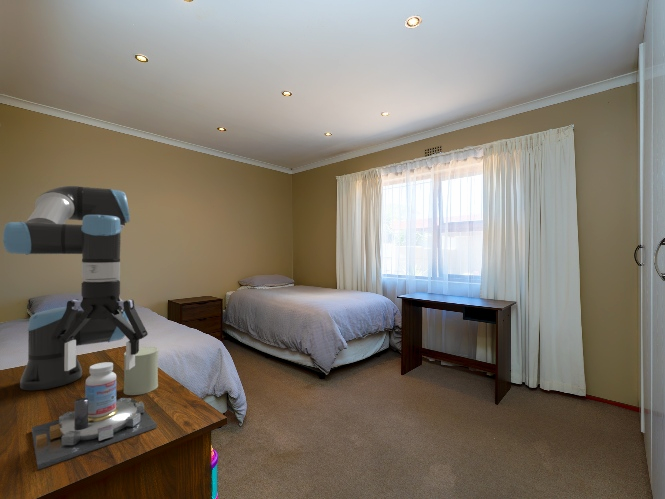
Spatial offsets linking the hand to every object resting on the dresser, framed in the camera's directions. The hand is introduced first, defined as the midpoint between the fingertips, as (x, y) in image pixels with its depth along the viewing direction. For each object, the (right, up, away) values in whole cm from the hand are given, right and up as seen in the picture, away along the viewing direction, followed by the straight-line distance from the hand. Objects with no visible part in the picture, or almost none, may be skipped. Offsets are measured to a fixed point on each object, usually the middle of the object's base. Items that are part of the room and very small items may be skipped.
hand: (100, 368), depth 77 cm
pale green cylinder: (-3, -15, +22) cm, 26 cm away
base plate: (0, -14, -1) cm, 14 cm away
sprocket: (0, -13, -1) cm, 13 cm away
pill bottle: (0, -11, 0) cm, 11 cm away
